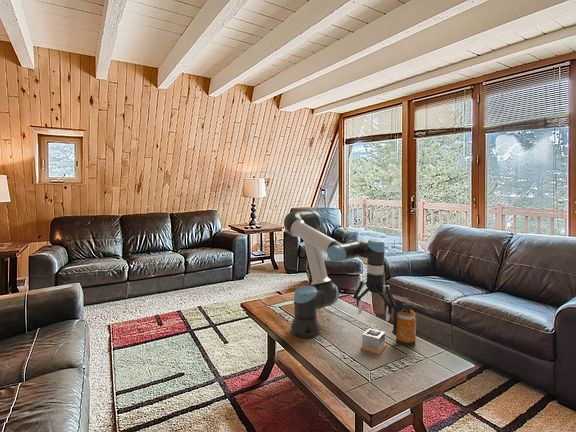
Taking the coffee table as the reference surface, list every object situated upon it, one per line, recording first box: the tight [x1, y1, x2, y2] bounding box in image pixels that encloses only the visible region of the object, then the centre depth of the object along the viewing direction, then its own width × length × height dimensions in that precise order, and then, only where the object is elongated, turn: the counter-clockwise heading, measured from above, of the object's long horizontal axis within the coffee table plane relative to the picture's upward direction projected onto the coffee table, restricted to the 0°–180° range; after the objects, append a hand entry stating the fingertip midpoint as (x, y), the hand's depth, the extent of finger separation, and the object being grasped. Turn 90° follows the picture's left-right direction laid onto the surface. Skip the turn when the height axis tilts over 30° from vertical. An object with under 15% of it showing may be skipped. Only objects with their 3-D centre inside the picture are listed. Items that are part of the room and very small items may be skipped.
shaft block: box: [360, 331, 387, 355], centre depth 163 cm, size 9×9×8 cm
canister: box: [391, 301, 417, 347], centre depth 167 cm, size 9×11×20 cm
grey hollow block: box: [361, 327, 386, 351], centre depth 163 cm, size 8×8×6 cm
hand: (373, 316), depth 162 cm, fingers open, 13 cm apart
